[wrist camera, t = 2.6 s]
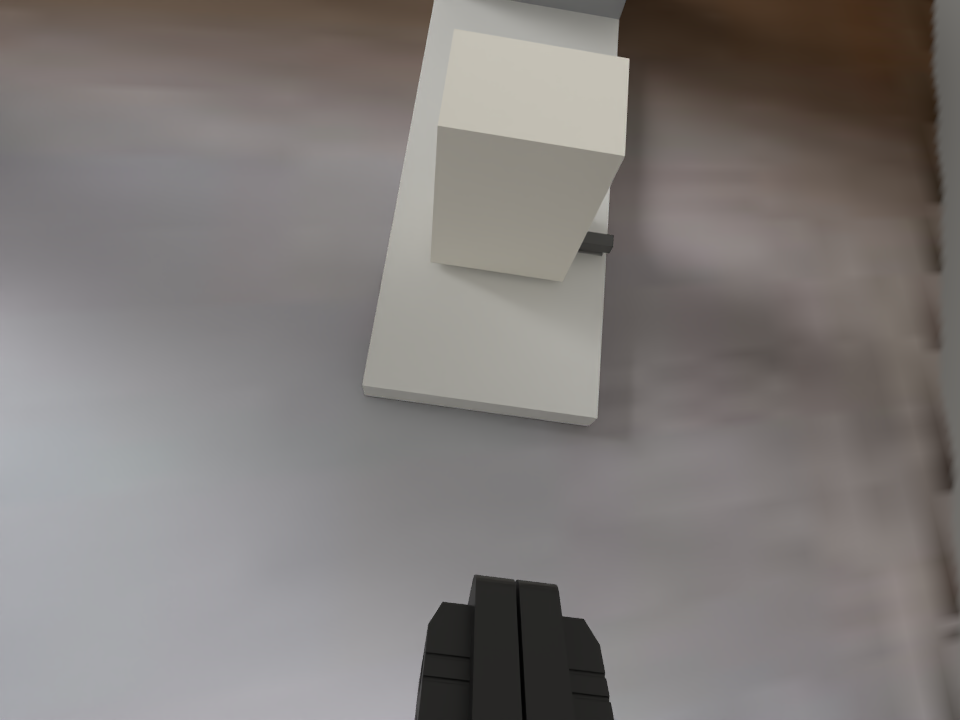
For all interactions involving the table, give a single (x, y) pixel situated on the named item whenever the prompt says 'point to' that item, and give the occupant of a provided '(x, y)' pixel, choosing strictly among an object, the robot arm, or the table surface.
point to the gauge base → (480, 293)
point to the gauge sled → (525, 154)
